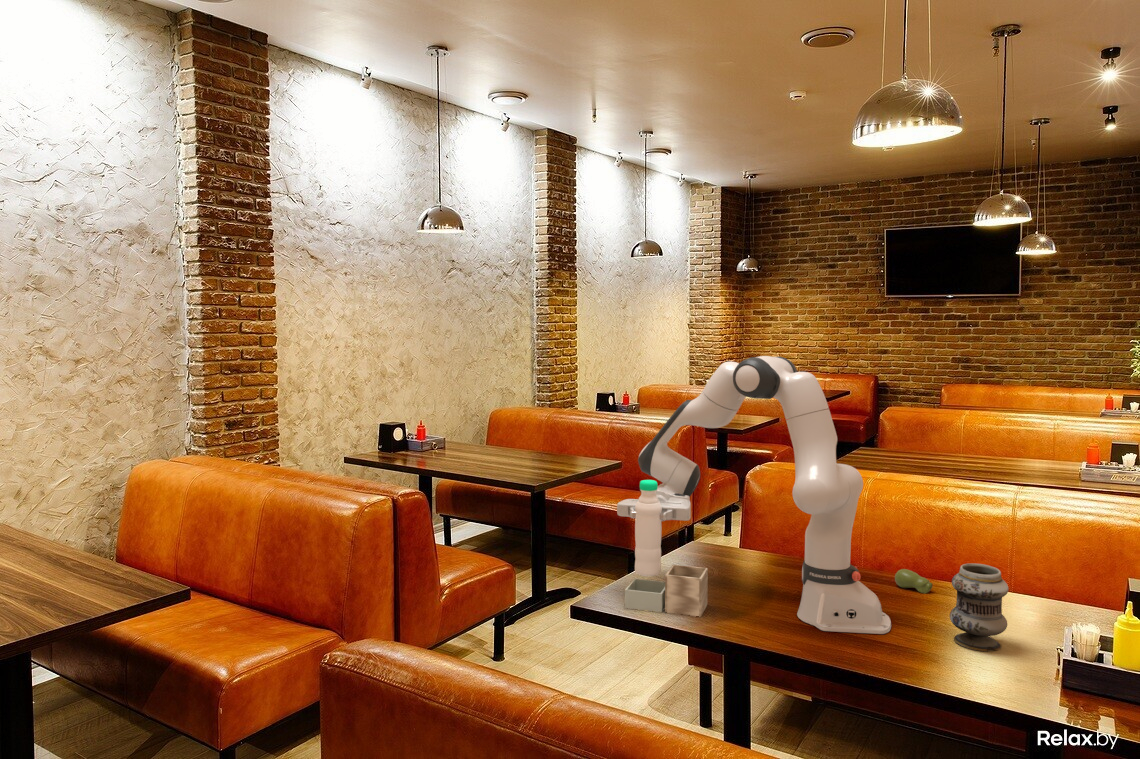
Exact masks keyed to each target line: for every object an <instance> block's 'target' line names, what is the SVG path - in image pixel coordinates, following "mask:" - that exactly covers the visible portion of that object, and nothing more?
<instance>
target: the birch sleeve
mask: <svg viewBox="0 0 1140 759" xmlns="http://www.w3.org/2000/svg"><path fill="white" fill-rule="evenodd" d="M664 576H665V577H664V582H665V609H664V613H665V612H667V613H666V614H672V613H675V614H674V615H680V614H683V615H682V616H688V615H690V616H689V617H696V616H699V617H698V618H701V617H702V616H703V614H704V612H705V610H706V608H707V606H708V568H707V567H700V566H699V567H697V566H690V565H679V564H672V566H670V568H669V569H668V571H667V572H666V573H665V574H664Z"/></svg>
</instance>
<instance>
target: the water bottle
mask: <svg viewBox="0 0 1140 759" xmlns="http://www.w3.org/2000/svg"><path fill="white" fill-rule="evenodd" d="M658 486H659V485H658V482H657V480H654V479H643V480H640V481H639V491H640V492H641V493H640V496H639V497H638V499H639V500H638V502H637V504H636V506H635V511H636V518H634V519H635V522H634V523H635V524H634V537H635V538H634V539H635V542H634V543H635V548H634V558H635V560H634V571H635V574H637V575H639V576H642V577H656V576H658V575H660V574H661V573H662V561H661V559H662V547H661V545H662V528H663V527H662V526H663V524H662V522H661V520H660V513H661V511H662V507H661V504H660V502H659V500H658V497H657V496H656V491H657V488H658Z"/></svg>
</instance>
